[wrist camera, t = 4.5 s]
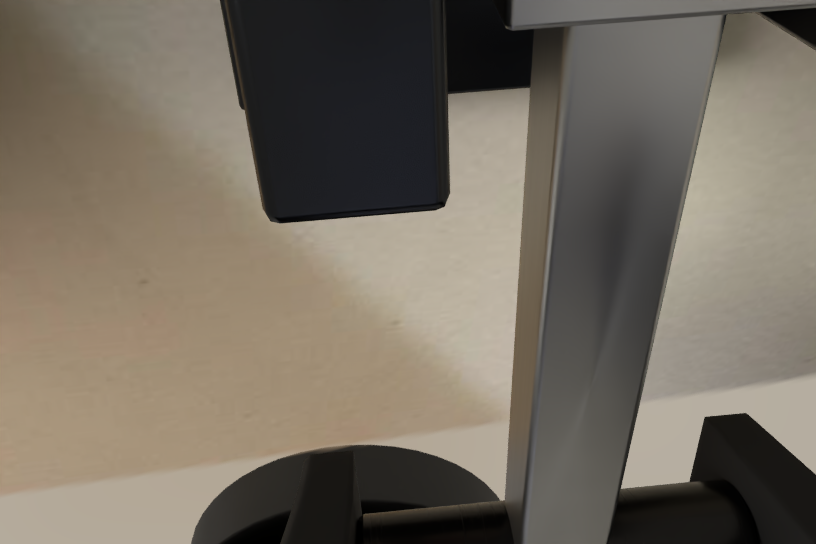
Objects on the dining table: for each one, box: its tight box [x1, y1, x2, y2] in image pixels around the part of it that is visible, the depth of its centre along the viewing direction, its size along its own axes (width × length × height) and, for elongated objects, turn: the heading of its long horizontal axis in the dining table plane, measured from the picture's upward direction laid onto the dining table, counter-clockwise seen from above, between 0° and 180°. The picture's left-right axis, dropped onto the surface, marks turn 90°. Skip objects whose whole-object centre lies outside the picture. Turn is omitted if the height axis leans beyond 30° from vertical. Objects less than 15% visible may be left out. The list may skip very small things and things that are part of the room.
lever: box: [357, 0, 816, 544], centre depth 7 cm, size 11×5×2 cm, turn 3°
